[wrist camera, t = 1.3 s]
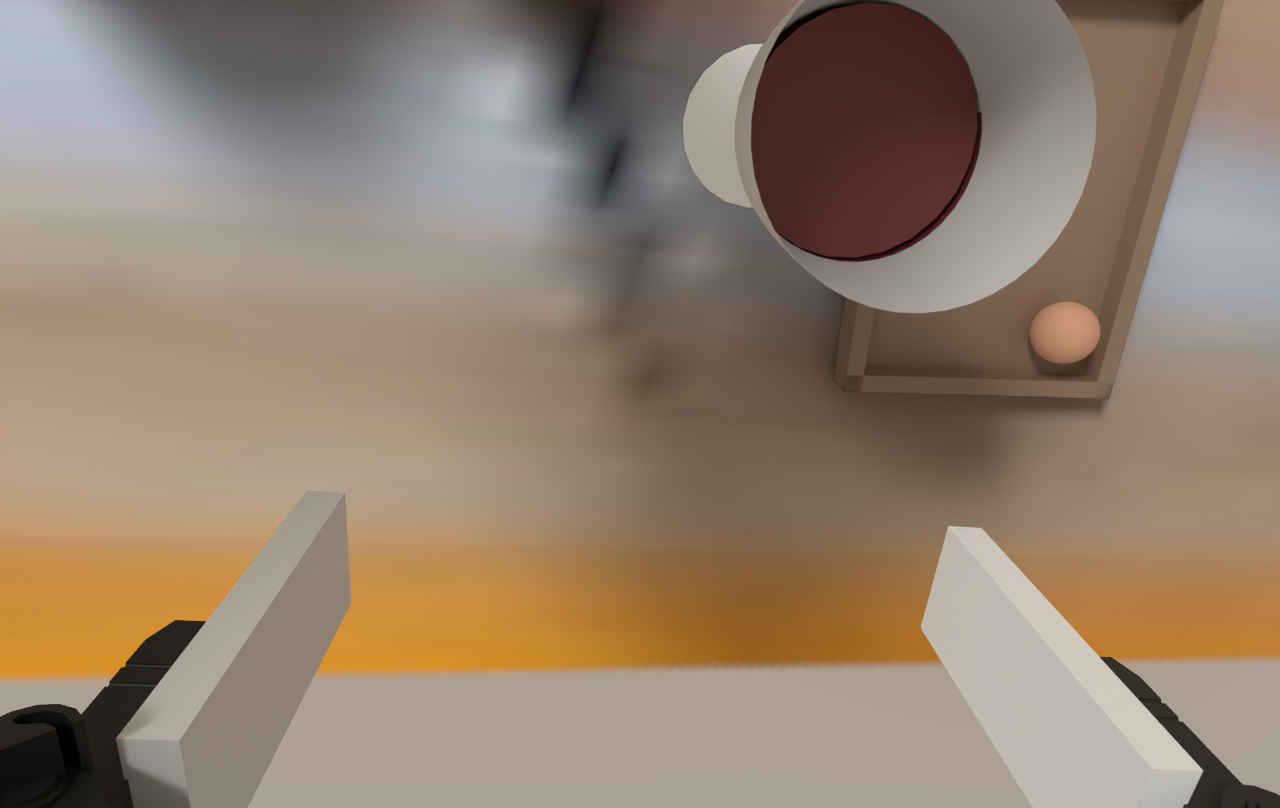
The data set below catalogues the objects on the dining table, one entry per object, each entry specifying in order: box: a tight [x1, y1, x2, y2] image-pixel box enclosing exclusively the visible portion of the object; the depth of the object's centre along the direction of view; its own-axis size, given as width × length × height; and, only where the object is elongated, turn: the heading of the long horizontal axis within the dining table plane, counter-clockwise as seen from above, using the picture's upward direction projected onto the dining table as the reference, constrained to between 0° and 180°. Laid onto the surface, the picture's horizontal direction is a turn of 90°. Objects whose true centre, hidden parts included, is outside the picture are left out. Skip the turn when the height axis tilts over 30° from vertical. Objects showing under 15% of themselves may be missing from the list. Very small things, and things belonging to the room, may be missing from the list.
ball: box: [1029, 302, 1100, 364], centre depth 42 cm, size 4×4×4 cm
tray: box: [833, 0, 1224, 399], centre depth 41 cm, size 22×16×2 cm
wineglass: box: [683, 0, 1097, 313], centre depth 30 cm, size 9×10×22 cm
